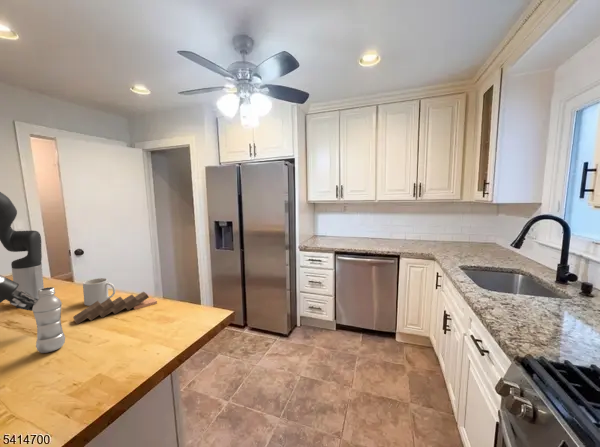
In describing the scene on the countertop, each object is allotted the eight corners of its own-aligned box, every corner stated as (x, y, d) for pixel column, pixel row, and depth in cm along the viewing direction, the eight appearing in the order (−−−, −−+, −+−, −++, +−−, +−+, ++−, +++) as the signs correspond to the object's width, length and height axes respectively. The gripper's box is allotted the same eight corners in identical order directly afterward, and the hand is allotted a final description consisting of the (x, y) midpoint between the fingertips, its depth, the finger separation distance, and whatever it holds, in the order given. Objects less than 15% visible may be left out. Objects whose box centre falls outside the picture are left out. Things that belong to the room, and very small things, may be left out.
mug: (79, 303, 116) (78, 282, 115) (102, 296, 125) (101, 276, 124) (94, 308, 112) (93, 286, 111) (117, 300, 120) (115, 279, 120)
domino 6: (134, 306, 111) (156, 301, 117) (131, 303, 114) (153, 298, 121) (134, 310, 111) (157, 304, 117) (131, 307, 114) (153, 301, 121)
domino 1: (74, 321, 97) (99, 304, 102) (73, 316, 100) (97, 300, 105) (77, 324, 97) (102, 307, 103) (76, 319, 101) (100, 303, 106)
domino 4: (112, 311, 105) (135, 297, 111) (109, 307, 109) (132, 294, 114) (114, 314, 106) (137, 300, 111) (112, 310, 109) (134, 297, 115)
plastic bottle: (70, 346, 83) (65, 286, 81) (44, 358, 77) (38, 294, 75) (58, 342, 85) (53, 284, 83) (31, 353, 79) (25, 291, 77)
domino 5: (125, 307, 109) (147, 294, 114) (122, 304, 112) (143, 291, 118) (128, 310, 109) (149, 297, 115) (124, 307, 113) (145, 294, 118)
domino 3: (99, 314, 102) (122, 299, 107) (97, 310, 105) (120, 296, 111) (102, 317, 103) (125, 302, 108) (100, 313, 106) (122, 299, 112)
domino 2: (87, 317, 99) (111, 301, 105) (85, 313, 103) (109, 298, 108) (90, 320, 100) (114, 304, 105) (88, 316, 104) (112, 301, 109)
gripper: (2, 281, 80) (59, 307, 90) (5, 273, 89) (56, 297, 99) (-23, 302, 77) (39, 327, 87) (-17, 291, 86) (38, 314, 96)
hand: (48, 311), depth 93 cm, fingers closed
